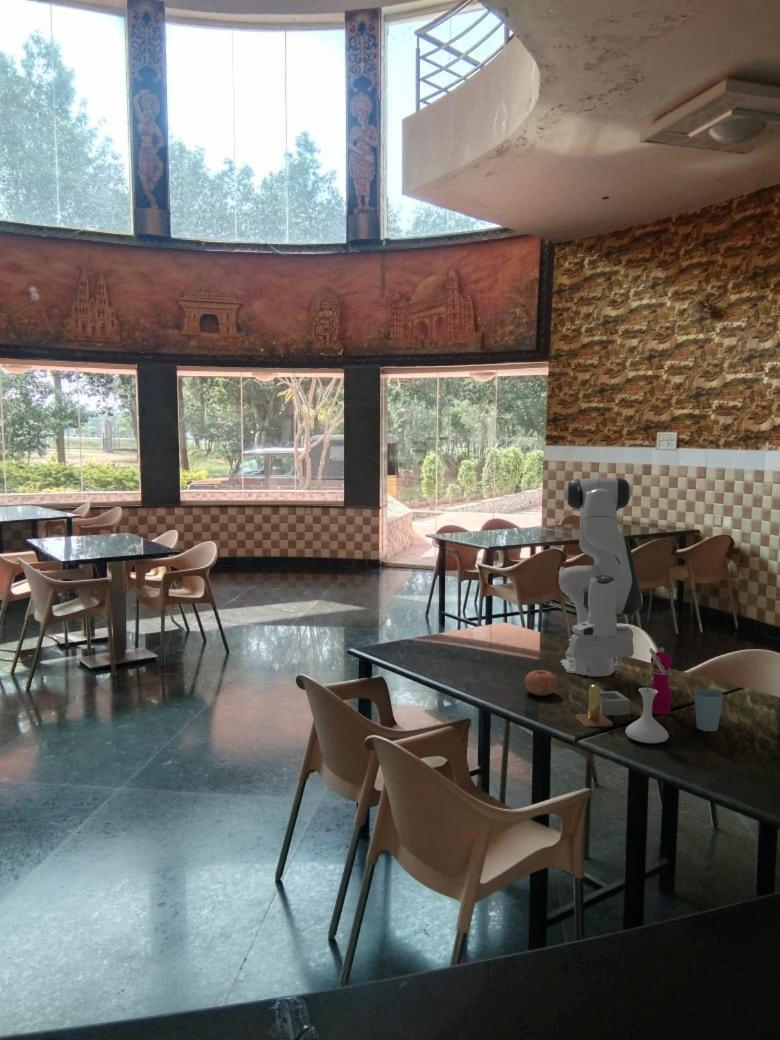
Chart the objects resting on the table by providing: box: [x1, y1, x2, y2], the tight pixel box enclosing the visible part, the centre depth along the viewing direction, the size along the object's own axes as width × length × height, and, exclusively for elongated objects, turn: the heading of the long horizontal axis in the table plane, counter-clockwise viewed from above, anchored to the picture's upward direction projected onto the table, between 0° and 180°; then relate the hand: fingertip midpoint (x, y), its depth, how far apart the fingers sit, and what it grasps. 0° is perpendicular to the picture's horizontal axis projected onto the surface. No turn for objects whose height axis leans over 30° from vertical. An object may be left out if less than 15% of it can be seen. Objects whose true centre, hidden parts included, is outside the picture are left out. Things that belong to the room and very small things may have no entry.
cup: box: [693, 688, 724, 733], centre depth 217 cm, size 8×8×10 cm
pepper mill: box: [649, 646, 673, 716], centre depth 232 cm, size 7×7×20 cm
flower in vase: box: [624, 647, 670, 744], centre depth 208 cm, size 13×11×25 cm
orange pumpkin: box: [523, 669, 559, 697], centre depth 249 cm, size 11×11×8 cm
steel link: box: [589, 683, 631, 717], centre depth 237 cm, size 17×9×4 cm, turn 9°
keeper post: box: [574, 684, 614, 728], centre depth 222 cm, size 8×8×11 cm
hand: (601, 671), depth 238 cm, fingers open, 8 cm apart
